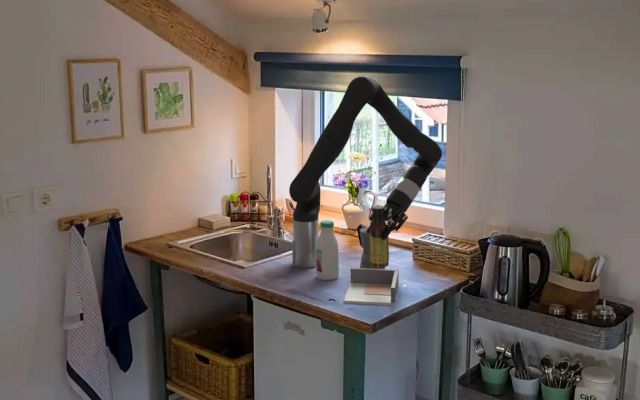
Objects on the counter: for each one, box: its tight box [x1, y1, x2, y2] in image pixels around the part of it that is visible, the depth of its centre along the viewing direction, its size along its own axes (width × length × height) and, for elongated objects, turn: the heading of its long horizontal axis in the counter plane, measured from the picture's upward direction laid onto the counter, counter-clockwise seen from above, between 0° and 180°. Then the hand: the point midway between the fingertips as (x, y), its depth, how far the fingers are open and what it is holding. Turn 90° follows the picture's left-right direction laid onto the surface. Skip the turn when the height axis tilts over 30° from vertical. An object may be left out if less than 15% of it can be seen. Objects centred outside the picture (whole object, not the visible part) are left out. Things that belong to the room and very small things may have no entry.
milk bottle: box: [315, 219, 340, 281], centre depth 253 cm, size 8×8×20 cm
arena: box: [343, 267, 400, 306], centre depth 237 cm, size 16×18×6 cm
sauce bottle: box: [369, 205, 390, 268], centre depth 236 cm, size 6×6×20 cm
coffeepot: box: [356, 221, 386, 269], centre depth 261 cm, size 15×9×18 cm, turn 34°
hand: (375, 236), depth 234 cm, fingers closed on sauce bottle, 6 cm apart
